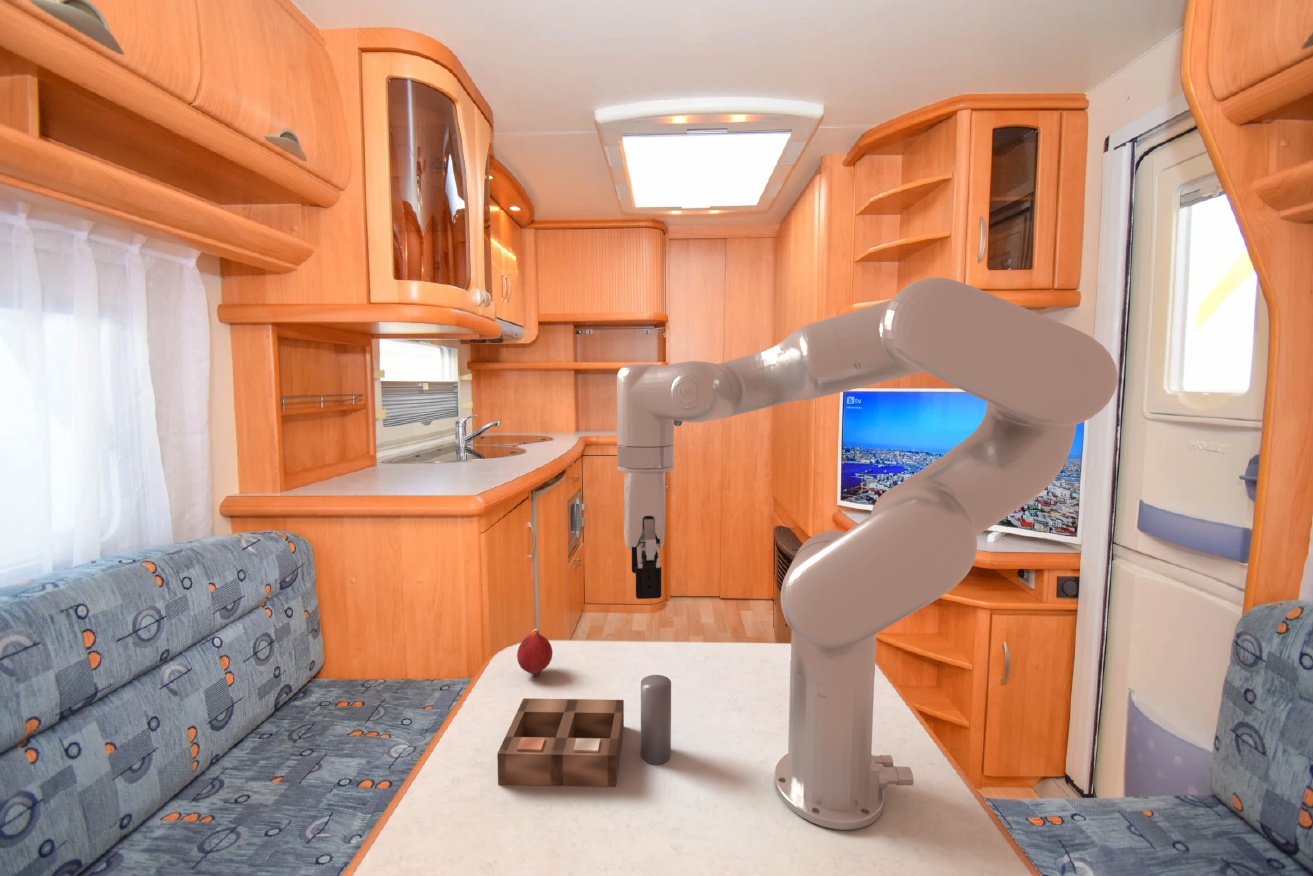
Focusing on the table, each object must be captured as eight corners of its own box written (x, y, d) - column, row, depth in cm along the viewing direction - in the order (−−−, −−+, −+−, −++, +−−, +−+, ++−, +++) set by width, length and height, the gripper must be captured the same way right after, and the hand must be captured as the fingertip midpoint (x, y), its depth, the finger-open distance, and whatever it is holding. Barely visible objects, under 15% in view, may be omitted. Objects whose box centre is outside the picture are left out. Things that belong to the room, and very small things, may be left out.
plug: (670, 745, 74) (671, 675, 73) (670, 765, 70) (671, 691, 69) (641, 744, 74) (641, 674, 73) (639, 764, 70) (640, 690, 69)
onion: (520, 686, 89) (520, 639, 88) (514, 670, 94) (514, 625, 93) (556, 679, 91) (555, 633, 90) (548, 663, 96) (547, 620, 96)
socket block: (623, 726, 78) (623, 697, 78) (615, 786, 66) (615, 753, 66) (523, 724, 78) (523, 696, 78) (498, 784, 66) (497, 751, 66)
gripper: (615, 451, 80) (616, 565, 81) (618, 467, 63) (619, 610, 64) (666, 451, 81) (665, 563, 82) (683, 467, 64) (682, 608, 65)
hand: (645, 584), depth 73 cm, fingers open, 9 cm apart
